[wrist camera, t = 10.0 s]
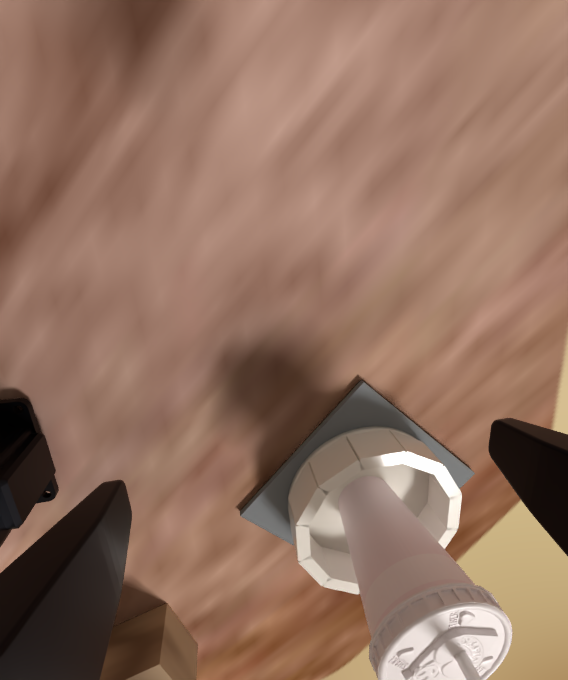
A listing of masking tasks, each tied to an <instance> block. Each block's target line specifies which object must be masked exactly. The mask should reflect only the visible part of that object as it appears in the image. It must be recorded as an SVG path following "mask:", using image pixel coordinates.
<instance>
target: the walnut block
mask: <svg viewBox="0 0 568 680" xmlns="http://www.w3.org/2000/svg"><path fill="white" fill-rule="evenodd" d="M197 650H198V644H197V642H196V641H195V640H194V638H193V637H192V636H191V634H190V633H189V632H188V630H187V629H186V628H185V626H184V625H183V624H182V622H181V621H180V620H179V618H178V617H177V615H176V614H175V613H174V611H173V610H172V609H171V607H170V606H169V605H168V603H166V604H164V605H162V606H159V607H157V608H155V609H153V610H150V611H148V612H146V613H144V614H141V615H139V616H137V617H135V618H132V619H130V620H128V621H126V622H123V623H121V624H119V625H117V626H115V627H113V629H112V633H111V637H110V641H109V645H108V649H107V653H106V657H105V661H104V665H103V669H102V673H101V677H100V680H196V674H197Z"/></svg>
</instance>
